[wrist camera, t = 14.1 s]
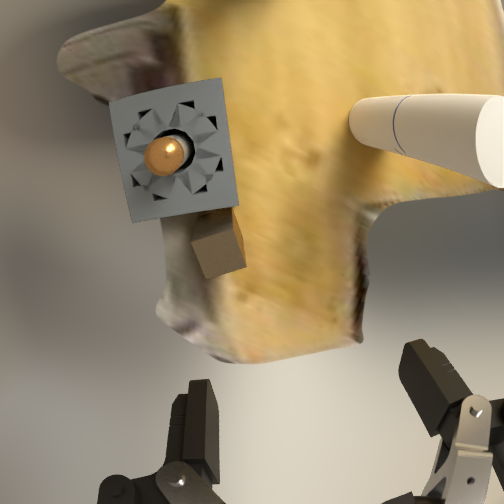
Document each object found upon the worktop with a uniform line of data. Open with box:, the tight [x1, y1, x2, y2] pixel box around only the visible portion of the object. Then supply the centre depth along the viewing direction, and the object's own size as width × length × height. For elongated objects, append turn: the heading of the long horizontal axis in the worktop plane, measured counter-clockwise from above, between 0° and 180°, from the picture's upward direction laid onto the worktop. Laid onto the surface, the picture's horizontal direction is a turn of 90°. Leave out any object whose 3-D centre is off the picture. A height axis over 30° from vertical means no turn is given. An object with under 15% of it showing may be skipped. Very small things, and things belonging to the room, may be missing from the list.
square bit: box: [191, 207, 247, 279], centre depth 39 cm, size 5×5×9 cm
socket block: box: [109, 78, 239, 223], centre depth 37 cm, size 16×14×4 cm
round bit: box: [144, 134, 193, 176], centre depth 34 cm, size 4×4×10 cm
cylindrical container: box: [349, 94, 504, 188], centre depth 27 cm, size 7×7×25 cm
